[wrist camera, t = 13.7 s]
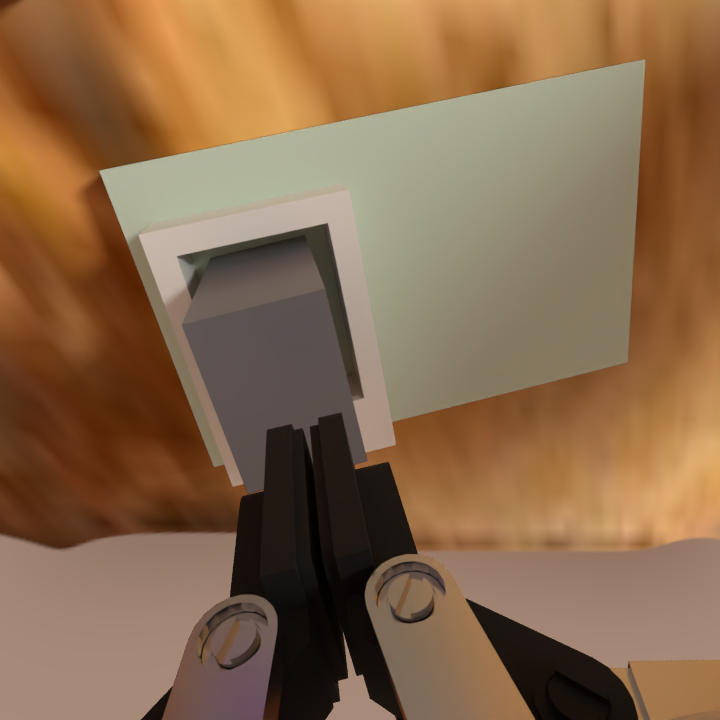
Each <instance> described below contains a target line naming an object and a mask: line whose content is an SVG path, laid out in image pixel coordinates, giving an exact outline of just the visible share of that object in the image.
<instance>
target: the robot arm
mask: <svg viewBox="0 0 720 720" xmlns="http://www.w3.org/2000/svg"><path fill="white" fill-rule="evenodd" d="M310 436H311V447H312V458H313V462H312V459H311V455H310V452H309V448H308V444H307V441H306V437H305V434H304V431H303V428H300V429H296V430H294V428H293V425H292V424H289V425H284V426H280V427H276V428H272V429H268V430H267V434H266V455H265V475H264V491H263V492H259V493H255V494H251V495H246V496H243V497H242V498H241V502H240V509H239V518H238V527H237V537H236V546H235V556H234V564H233V573H232V582H231V591H230V598H228V599H226V600H224V601H222V602H220V603H218V604H216V605H215V606H214V607H213V608H212V609H210V610H209V611H208V612H206V613H205V614H204V615H203V617H202V618H201V619H200V620H199V622H198V623H197V624H196V625H195V627H194V629H193V631H192V633H191V635H190V637H189V639H188V642H187V645H186V648H185V651H184V654H183V657H182V660H181V663H180V666H179V670H178V672H177V675H176V678H175V681H174V685H173V686H172V687H171V688H170V690H169V691H168V692H167V693H166V694H165V695H164V696H163V697H162V698H161V699H160V700H159V701H158V702H157V703H156V704H155V705H154V706H153V707H152V709H151V710H150V711H149V712H148V713H147V714H146V715H145V716H144V717H143V718H142V719H141V720H325V719H326V718H327V717H328V715H329V713H330V712H331V711H332V709H333V703H335V702H338V701H340V696H339V688H338V687H339V686H338V681H339V680H343V679H347V678H348V670H347V663H346V653H345V645H344V637H343V633H344V636H345V639H346V642H347V646H348V649H349V652H350V656H351V659H352V662H353V666H354V669H355V672H356V675H357V676H359V675H363V676H364V680H365V683H366V687H367V690H368V693H369V696H370V699H372V700H373V701H375V702H376V703H377V704H379V705H380V706H382V707H383V708H385V709H386V710H388V711H389V712H391V713H392V714H393V715H395V718H396V720H720V660H682V661H681V660H679V661H678V660H677V661H628V668H608V667H607V666H605V665H604V664H602V663H600V662H599V661H597V660H596V659H594V658H592V657H590V656H588V655H586V654H584V653H581V652H579V651H577V650H575V649H573V648H571V647H569V646H567V645H564V644H562V643H560V642H558V641H556V640H554V639H552V638H549V637H547V636H545V635H543V634H541V633H539V632H537V631H534V630H532V629H530V628H528V627H526V626H524V625H522V624H520V623H517V622H515V621H513V620H511V619H509V618H507V617H505V616H502V615H500V614H498V613H496V612H494V611H492V610H490V609H488V608H485V607H483V606H481V605H479V604H477V603H474V602H473V601H470V600H468V599H466V598H464V596H463V594H462V593H461V591H460V589H459V587H458V586H457V584H456V582H455V580H454V579H453V577H452V575H451V574H450V572H449V571H448V570H447V569H446V568H445V566H444V565H443V564H441V563H440V562H438V561H436V560H435V559H433V558H431V557H427V556H424V555H420V554H418V553H417V550H416V547H415V543H414V540H413V537H412V534H411V531H410V528H409V524H408V521H407V518H406V515H405V512H404V508H403V505H402V502H401V499H400V496H399V493H398V489H397V486H396V483H395V480H394V477H393V473H392V470H391V467H390V464H389V462H386V463H381V464H377V465H373V466H369V467H365V468H360V469H356V470H355V467H354V463H353V459H352V454H351V450H350V446H349V442H348V437H347V433H346V429H345V424H344V420H343V416H342V412H341V413H336V414H332V415H328V416H323V417H319V418H318V425H313V426H310Z"/></svg>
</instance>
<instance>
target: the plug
mask: <svg viewBox="0 0 720 720" xmlns="http://www.w3.org/2000/svg"><path fill="white" fill-rule="evenodd" d="M182 327H183V330H184V332H185V335H186V338H187V340H188V343H189V345H190V348H191V350H192V353H193V355H194V358H195V360H196V363H197V366H198V368H199V371H200V373H201V376H202V378H203V381H204V383H205V386H206V389H207V391H208V394H209V396H210V399H211V401H212V404H213V406H214V409H215V412H216V414H217V417H218V419H219V422H220V424H221V427H222V429H223V432H224V435H225V437H226V440H227V442H228V445H229V447H230V450H231V452H232V455H233V458H234V460H235V463H236V465H237V468H238V470H239V473H240V475H241V478H242V481H243V483H244V486H245V488H246V491H247V493H248V494H250V493H254V492H257V491H261V490H264V475H265V455H266V434H267V430H268V429H272V428H276V427H280V426H284V425H289V424H292V425H293V428H294V430H296V429H300V428H303V431H304V434H305V437H306V441H307V444H308V448H309V452H310V455H311V459H312V462H313V458H312V447H311V436H310V426H313V425H318V418H319V417H323V416H328V415H332V414H336V413H341V412H342V416H343V420H344V424H345V429H346V433H347V437H348V442H349V446H350V450H351V454H352V459H353V463H354V465H355V464H358V463H362V462H366V461H368V460H367V456H366V452H365V448H364V444H363V440H362V436H361V432H360V428H359V424H358V420H357V416H356V412H355V408H354V404H353V399H352V395H351V391H350V387H349V383H348V379H347V375H346V371H345V367H344V363H343V359H342V355H341V351H340V347H339V343H338V338H337V334H336V330H335V326H334V322H333V318H332V314H331V310H330V306H329V302H328V298H327V294H326V290H325V287H324V284H323V281H322V279H321V276H320V273H319V271H318V268H317V266H316V263H315V260H314V258H313V255H312V252H311V250H310V247H309V244H308V242H307V239H306V237H305V235H302V236H298V237H294V238H290V239H286V240H282V241H277V242H273V243H269V244H265V245H261V246H257V247H253V248H249V249H245V250H241V251H236V252H232V253H228V254H224V255H220V256H216V257H212V258H210V260H209V262H208V265H207V267H206V269H205V272H204V274H203V276H202V279H201V281H200V283H199V286H198V288H197V290H196V293H195V295H194V297H193V300H192V302H191V304H190V307H189V309H188V311H187V314H186V316H185V318H184V320H183V323H182Z"/></svg>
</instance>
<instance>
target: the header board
mask: <svg viewBox="0 0 720 720" xmlns="http://www.w3.org/2000/svg"><path fill="white" fill-rule="evenodd" d="M644 76H645V59H644V60H639V61H633V62H628V63H623V64H618V65H613V66H608V67H603V68H598V69H593V70H588V71H583V72H579V73H574V74H569V75H564V76H559V77H554V78H549V79H544V80H539V81H534V82H530V83H525V84H520V85H515V86H510V87H505V88H500V89H495V90H490V91H486V92H481V93H476V94H471V95H466V96H461V97H456V98H451V99H446V100H442V101H437V102H432V103H427V104H422V105H417V106H412V107H407V108H402V109H398V110H393V111H388V112H383V113H378V114H373V115H368V116H363V117H358V118H353V119H349V120H344V121H339V122H334V123H329V124H324V125H319V126H314V127H309V128H305V129H300V130H295V131H290V132H285V133H280V134H275V135H270V136H265V137H261V138H256V139H251V140H246V141H241V142H236V143H231V144H226V145H221V146H216V147H212V148H207V149H202V150H197V151H192V152H187V153H182V154H177V155H172V156H168V157H163V158H158V159H153V160H148V161H143V162H138V163H133V164H128V165H124V166H119V167H114V168H109V169H105V170H101V171H100V174H101V177H102V179H103V182H104V184H105V187H106V189H107V192H108V195H109V197H110V200H111V202H112V205H113V208H114V210H115V213H116V215H117V218H118V221H119V223H120V226H121V228H122V231H123V233H124V236H125V239H126V241H127V244H128V246H129V249H130V252H131V254H132V257H133V259H134V262H135V264H136V267H137V270H138V272H139V275H140V277H141V280H142V283H143V285H144V288H145V290H146V293H147V295H148V298H149V301H150V303H151V306H152V308H153V311H154V314H155V316H156V319H157V321H158V324H159V327H160V329H161V332H162V334H163V337H164V339H165V342H166V345H167V347H168V350H169V352H170V355H171V358H172V360H173V363H174V365H175V368H176V370H177V373H178V376H179V378H180V381H181V383H182V386H183V389H184V391H185V394H186V396H187V399H188V401H189V404H190V407H191V409H192V412H193V414H194V417H195V420H196V422H197V425H198V427H199V430H200V432H201V435H202V438H203V440H204V443H205V445H206V448H207V451H208V453H209V456H210V458H211V461H212V464H213V466H214V467H217V466H220V465H225V468H226V470H227V473H228V476H229V478H230V481H231V484H232V486H233V487H234V486H238V485H242V484H244V483H243V481H242V478H241V475H240V473H239V470H238V468H237V465H236V463H235V460H234V458H233V455H232V452H231V450H230V447H229V445H228V442H227V440H226V437H225V435H224V432H223V429H222V427H221V424H220V422H219V419H218V417H217V414H216V412H215V409H214V406H213V404H212V401H211V399H210V396H209V394H208V391H207V389H206V386H205V383H204V381H203V378H202V376H201V373H200V371H199V368H198V366H197V363H196V360H195V358H194V355H193V353H192V350H191V348H190V345H189V343H188V340H187V338H186V335H185V332H184V330H183V327H182V323H183V320H184V318H185V316H186V314H187V311H188V309H189V307H190V304H191V302H192V300H193V297H194V295H195V293H196V290H197V288H198V286H199V283H200V281H201V279H202V276H203V274H204V272H205V269H206V267H207V265H208V262H209V260H210V258H212V257H216V256H220V255H224V254H228V253H232V252H236V251H241V250H245V249H249V248H253V247H257V246H261V245H265V244H269V243H273V242H277V241H282V240H286V239H290V238H294V237H298V236H302V235H305V237H306V239H307V242H308V244H309V247H310V250H311V252H312V255H313V258H314V260H315V263H316V266H317V268H318V271H319V273H320V276H321V279H322V281H323V284H324V287H325V290H326V294H327V298H328V302H329V306H330V310H331V314H332V318H333V322H334V326H335V330H336V334H337V338H338V343H339V347H340V351H341V355H342V359H343V363H344V367H345V371H346V375H347V379H348V383H349V387H350V391H351V395H352V399H353V404H354V408H355V412H356V416H357V420H358V424H359V428H360V432H361V436H362V440H363V444H364V448H365V452H366V453H367V452H370V451H374V450H378V449H382V448H386V447H390V446H394V445H396V441H395V436H394V430H393V425H392V422H395V421H399V420H403V419H407V418H410V417H414V416H418V415H422V414H426V413H430V412H434V411H438V410H442V409H446V408H450V407H454V406H458V405H462V404H466V403H470V402H474V401H478V400H482V399H486V398H490V397H494V396H498V395H502V394H505V393H509V392H513V391H517V390H521V389H525V388H529V387H533V386H537V385H541V384H545V383H549V382H553V381H557V380H561V379H565V378H569V377H573V376H577V375H581V374H585V373H589V372H593V371H597V370H601V369H604V368H608V367H612V366H616V365H620V364H624V363H628V350H629V333H630V316H631V299H632V281H633V264H634V247H635V230H636V213H637V196H638V179H639V161H640V144H641V127H642V110H643V93H644Z"/></svg>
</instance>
